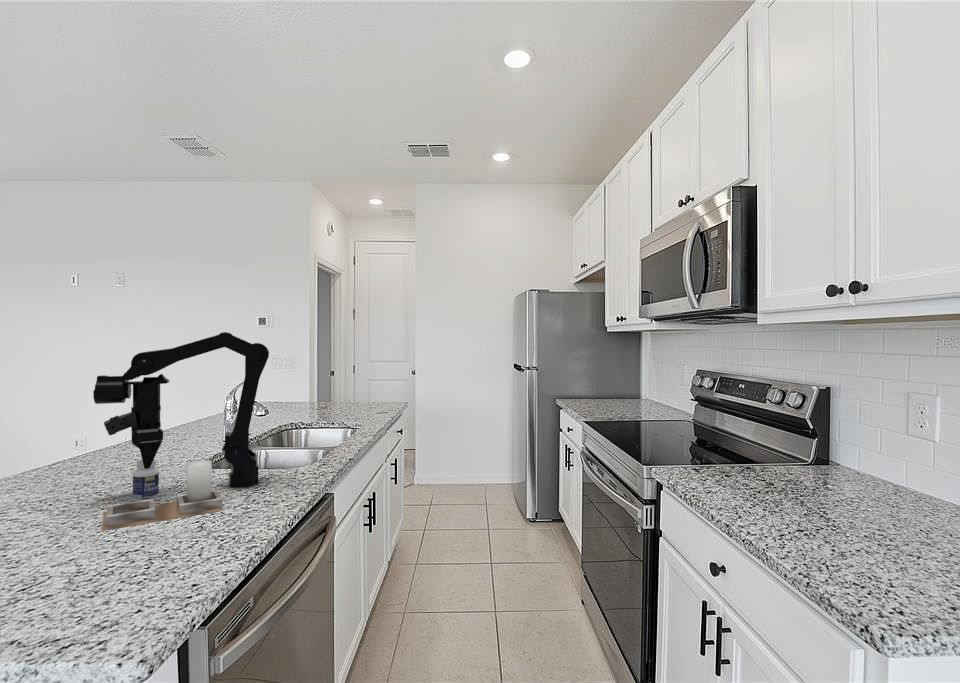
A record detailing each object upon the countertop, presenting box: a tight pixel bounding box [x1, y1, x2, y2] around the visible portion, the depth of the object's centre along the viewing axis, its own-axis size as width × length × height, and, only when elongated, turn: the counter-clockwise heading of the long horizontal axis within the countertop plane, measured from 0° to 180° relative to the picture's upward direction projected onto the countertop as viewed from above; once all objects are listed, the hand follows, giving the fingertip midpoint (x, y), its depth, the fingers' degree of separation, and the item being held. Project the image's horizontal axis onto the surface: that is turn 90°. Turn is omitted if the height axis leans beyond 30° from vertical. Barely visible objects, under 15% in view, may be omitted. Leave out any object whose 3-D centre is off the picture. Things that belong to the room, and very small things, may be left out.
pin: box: [186, 459, 213, 503], centre depth 117 cm, size 5×5×10 cm
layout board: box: [100, 489, 223, 532], centre depth 113 cm, size 22×13×4 cm, turn 125°
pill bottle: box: [132, 459, 160, 499], centre depth 125 cm, size 5×5×10 cm
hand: (146, 464), depth 125 cm, fingers open, 9 cm apart
